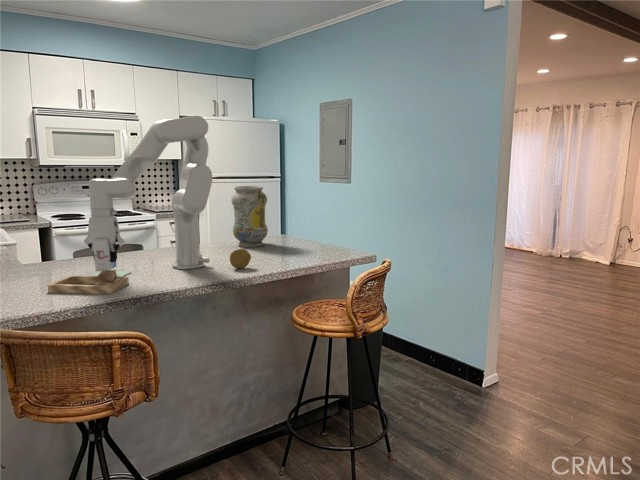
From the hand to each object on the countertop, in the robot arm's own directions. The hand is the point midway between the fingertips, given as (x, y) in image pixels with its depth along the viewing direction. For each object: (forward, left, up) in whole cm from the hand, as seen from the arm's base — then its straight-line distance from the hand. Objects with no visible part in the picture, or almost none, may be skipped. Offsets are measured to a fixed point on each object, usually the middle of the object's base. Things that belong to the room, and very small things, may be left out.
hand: (105, 260), depth 172 cm
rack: (-2, +15, -6) cm, 16 cm away
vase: (-39, -69, -6) cm, 80 cm away
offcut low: (-9, +15, -6) cm, 18 cm away
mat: (0, 0, -6) cm, 6 cm away
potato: (-46, -18, -6) cm, 50 cm away
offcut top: (-9, +15, -3) cm, 18 cm away
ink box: (0, 0, -3) cm, 3 cm away
